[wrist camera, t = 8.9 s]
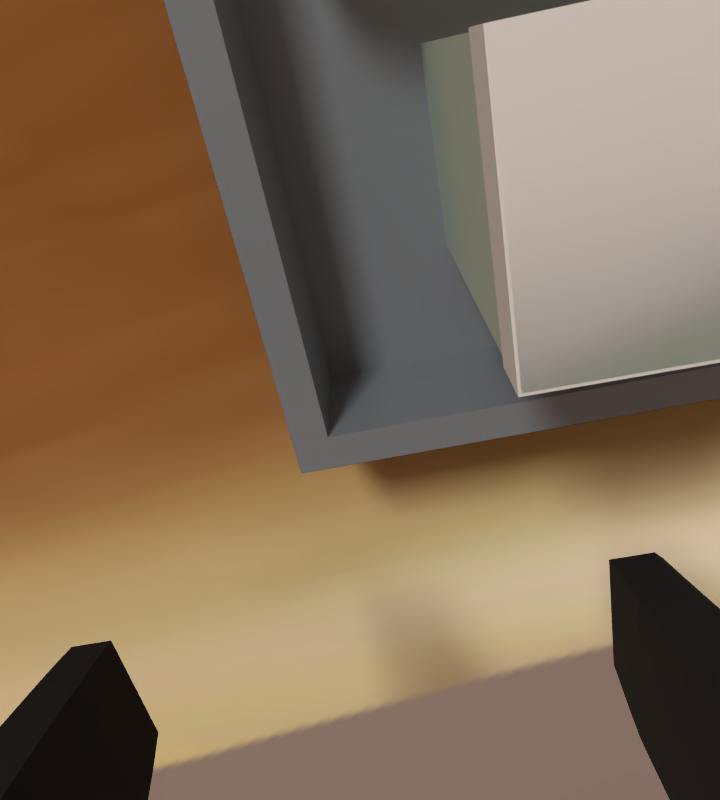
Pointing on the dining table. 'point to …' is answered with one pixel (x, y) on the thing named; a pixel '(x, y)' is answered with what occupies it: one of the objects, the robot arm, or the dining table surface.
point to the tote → (364, 229)
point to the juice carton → (585, 185)
